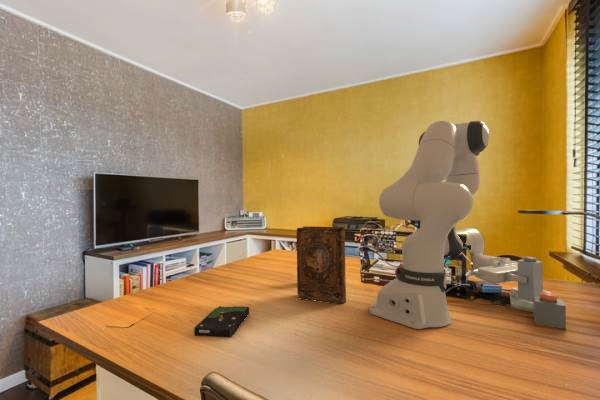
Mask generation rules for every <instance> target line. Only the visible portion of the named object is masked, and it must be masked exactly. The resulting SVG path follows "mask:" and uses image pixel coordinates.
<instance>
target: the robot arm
mask: <svg viewBox="0 0 600 400" xmlns="http://www.w3.org/2000/svg"><path fill="white" fill-rule="evenodd" d="M489 141H490V131H489V127H488V126H487V125H486V123H485V122H484V121H481V120H471V121H469V122H461V123H454V124H453V123H452V122H450V121H446V120H438V121H434V122H433V123H431V124H430V125H429V126H428V127H427V128H426V130H424V131H423V132H422V134H421V135H420V136H419V138H418V148H417V150H416V153H415V155H414V159H413V160H412V163H411V165H410V167H409V168H408V169H407V170H406V171H405V173H404V174H403V175H402V176H400V178H399V179H398V180H397V181H395V182H394V183H392V184H390V185H389V186H386V187H385V188H384V189H382V192H381V193H380V195H379V198H378V199H379V201H378V205H379V208H380V210H381V213H382V214H383V215H384V216H385V217H388V218H392V219H396V220H399V221H400V220H401V221H419V222H420V225H419V229H418V231H415V232H413V233H411V234H409V235H407V236H406V237H405V238H404V240H403V241H402V245H401V249H402V250H401V251H402V254H401V256H402V263H400V264H398V265H397V267H396V268H395V270H394V275H395V276H396V278H394V279H392V280H391V281H389V282H388V283H386V284H385V285H383V286H382V287H380V289H379V290H378V293H377V297H376V299H375V300H374V301H372V303H371V304H370V305H369V307H368V308H369V310H368V312H369V313H370V314H371V315H374V316H377V317H379V318H383V319H385V320H388V321H391V322H394V323H398V324H399V325H400V324H401V325H403V326H407V327H410V328H412V329H415V330H416V329H417V330H421V329H422V330H423V329H426V328H443V327H446V326H448V325H450V324H451V323H452V317H451V314H450V311H449V307H448V302H447V297H446V290H447V274H446V273H447V271H446V269H445V258H444V256H451V259H449V260H450V261H452V260H454V259H456V258H457V256H458V255H459V254H460V253H461V252H462V247H463V242H462V241H461V239H460V237H459V236H458V235H457V234H466V235H467V241H466V243H465V244H467V245H471V255H472V260H473V268H471V269H470V270H471V275H470V276H471V277H475V278H477V279H480V280H482V281H485V282H488V283H491V284H497V285H498V284H503V283H508V282H515V283H518V282H522V283H527V282H529V278H528V277H526V276H519V275H518V260H511V258H509V257H497V256H492V255H486V254H485V247H486V246H485V237H484V236H483V234H482V233H481V232H480V231H479V230H478V229H476V228H474V227H466V228H463V229H462V228H461V229H458V230H457V224H458V223H460V222H462V221H463V220H465V219H466V218H467V217H469V215H470V214H471V211H472V210H473V205H474V198H473V196H475V194H476V193H477V192H478V190H479V188H480V183H481V175H480V174H481V172H480V164H479V158H478V157H479V155H480V153H481V152H483V151H484V150H485V149H486V148H487V147H488V145H489Z"/></svg>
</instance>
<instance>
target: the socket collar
mask: <svg viewBox="0 0 600 400" xmlns="http://www.w3.org/2000/svg"><path fill="white" fill-rule="evenodd" d="M543 292H547V293H552V294H553V292H551V291H547V290H544V289H543ZM510 294H515V295H518V286H517V287H511V288H510Z"/></svg>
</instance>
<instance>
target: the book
mask: <svg viewBox="0 0 600 400" xmlns="http://www.w3.org/2000/svg"><path fill="white" fill-rule="evenodd" d="M296 265H297V266H296V272H297V273H296V279H297V280H296V281H297V282H296V283H297V286H296V287H297V291H296V292H297V297H298V299H299V298H301V299H300V300H303V299H308V300H307V301H309V300H316V301H315V302H317V301H322V302H321V303H325V302H329V303H328V304H332V303H336V304H335V305H340V304H341V305H344V304H346V302H347V290H346V289H347V287H346V286H347V283H346V277H347V276H346V229H345V227H344V226H309V225H305V226H302V227H297V228H296Z"/></svg>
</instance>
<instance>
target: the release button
mask: <svg viewBox="0 0 600 400" xmlns="http://www.w3.org/2000/svg"><path fill="white" fill-rule="evenodd" d="M540 298H541V299H543V301H547V302H554V301H557V298H558V295H557V294H555V293H553V292H552V293H547V292H540Z"/></svg>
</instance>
